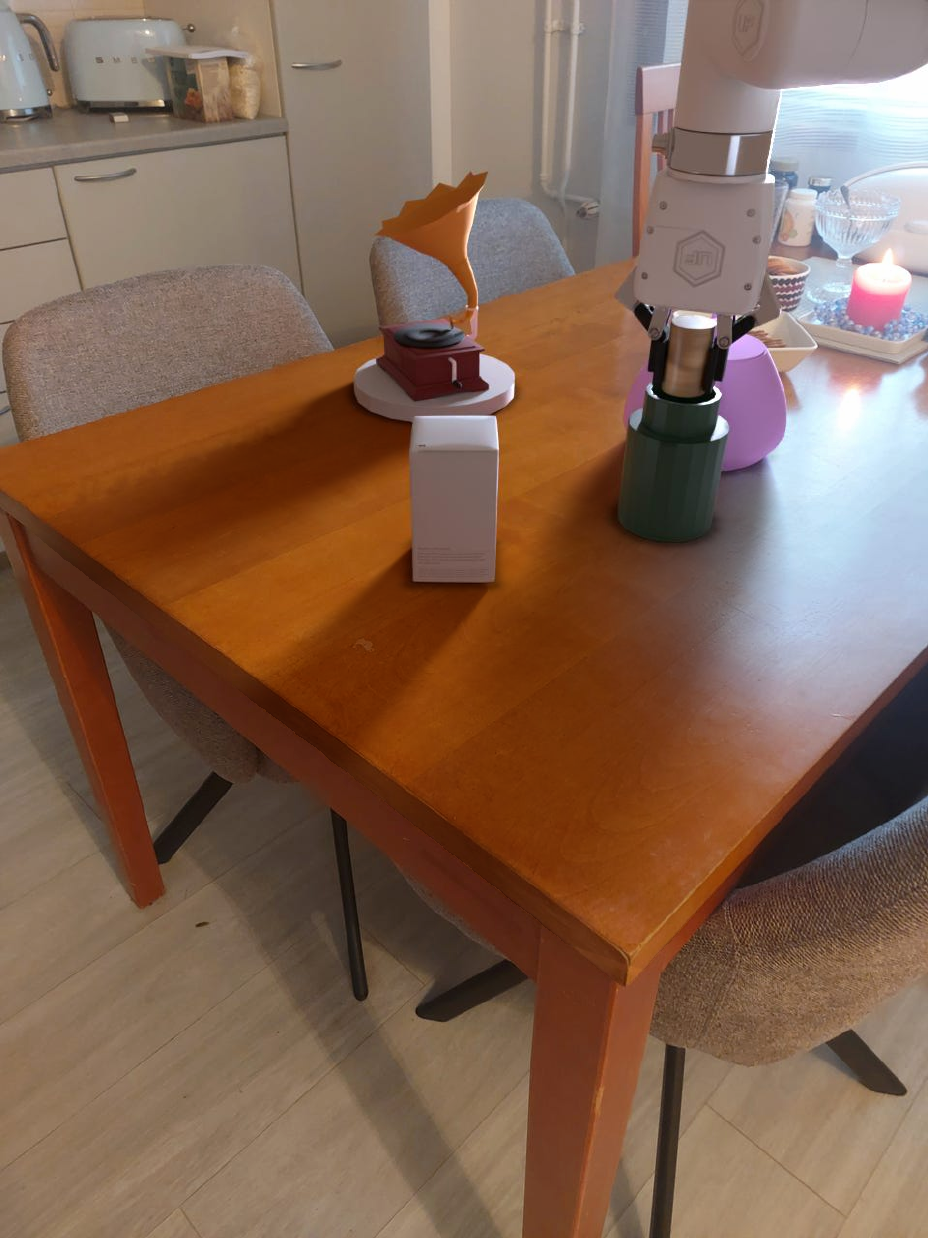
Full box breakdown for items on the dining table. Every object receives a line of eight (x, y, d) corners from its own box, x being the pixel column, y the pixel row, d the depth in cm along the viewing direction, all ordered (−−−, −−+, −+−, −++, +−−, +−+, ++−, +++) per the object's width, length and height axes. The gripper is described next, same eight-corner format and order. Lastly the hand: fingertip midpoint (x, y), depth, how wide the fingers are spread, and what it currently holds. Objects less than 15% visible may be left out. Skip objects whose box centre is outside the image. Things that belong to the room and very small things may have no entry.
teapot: (780, 498, 91) (812, 367, 83) (607, 477, 94) (620, 349, 86) (778, 406, 110) (803, 292, 102) (635, 391, 114) (648, 280, 106)
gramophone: (475, 354, 125) (477, 155, 110) (543, 407, 110) (555, 184, 95) (334, 374, 118) (316, 166, 104) (385, 434, 103) (373, 199, 88)
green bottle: (717, 506, 89) (741, 381, 82) (702, 550, 83) (726, 417, 75) (629, 490, 92) (644, 367, 84) (607, 531, 85) (621, 401, 78)
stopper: (708, 385, 80) (719, 318, 77) (700, 400, 78) (712, 331, 74) (666, 379, 82) (675, 312, 78) (657, 393, 79) (666, 325, 75)
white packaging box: (495, 584, 78) (499, 450, 70) (411, 583, 78) (405, 450, 70) (494, 540, 84) (498, 413, 76) (415, 540, 84) (411, 413, 76)
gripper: (601, 154, 68) (581, 385, 79) (829, 170, 63) (775, 414, 74) (624, 141, 74) (603, 358, 85) (836, 154, 69) (785, 383, 80)
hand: (684, 382), depth 79 cm, fingers closed on stopper, 3 cm apart
